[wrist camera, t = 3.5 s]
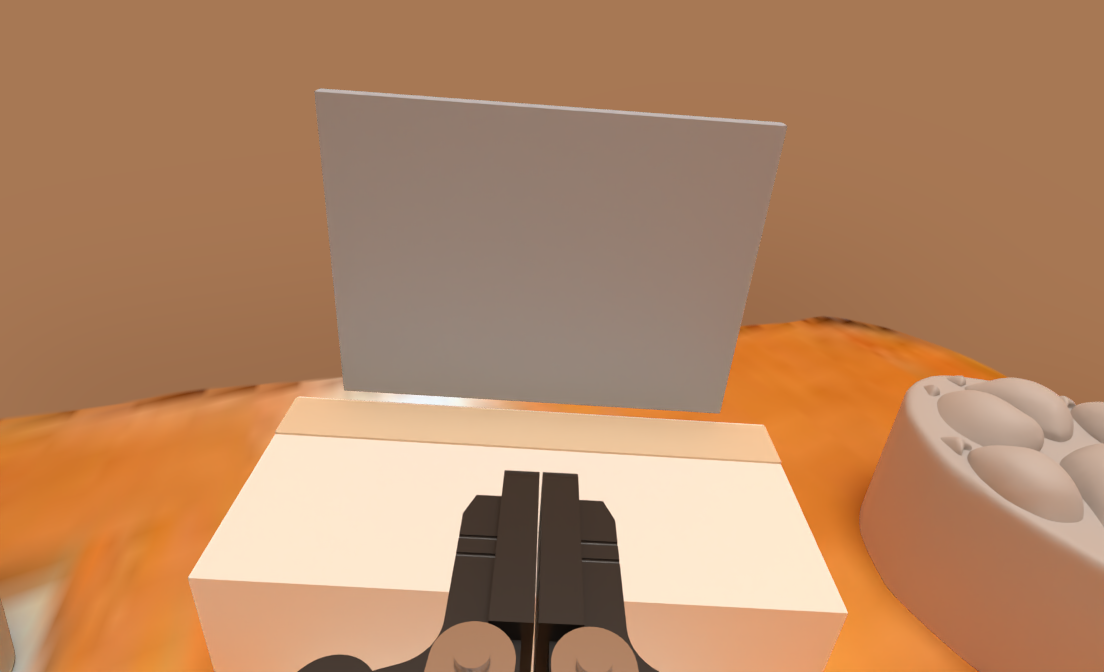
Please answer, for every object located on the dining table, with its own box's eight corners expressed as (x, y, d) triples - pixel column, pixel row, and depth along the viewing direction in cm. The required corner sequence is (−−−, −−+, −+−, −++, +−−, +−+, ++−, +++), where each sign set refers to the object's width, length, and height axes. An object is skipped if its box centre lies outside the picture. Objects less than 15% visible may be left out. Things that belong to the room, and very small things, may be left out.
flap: (344, 390, 28) (314, 91, 22) (348, 382, 28) (320, 88, 23) (719, 413, 28) (787, 126, 23) (716, 405, 29) (782, 122, 23)
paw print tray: (1092, 775, 23) (1237, 603, 18) (804, 520, 32) (856, 371, 28) (1225, 657, 27) (1365, 498, 23) (937, 465, 37) (998, 329, 33)
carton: (222, 699, 23) (186, 575, 20) (312, 502, 31) (297, 394, 28) (798, 727, 23) (848, 611, 20) (734, 526, 32) (763, 423, 29)
